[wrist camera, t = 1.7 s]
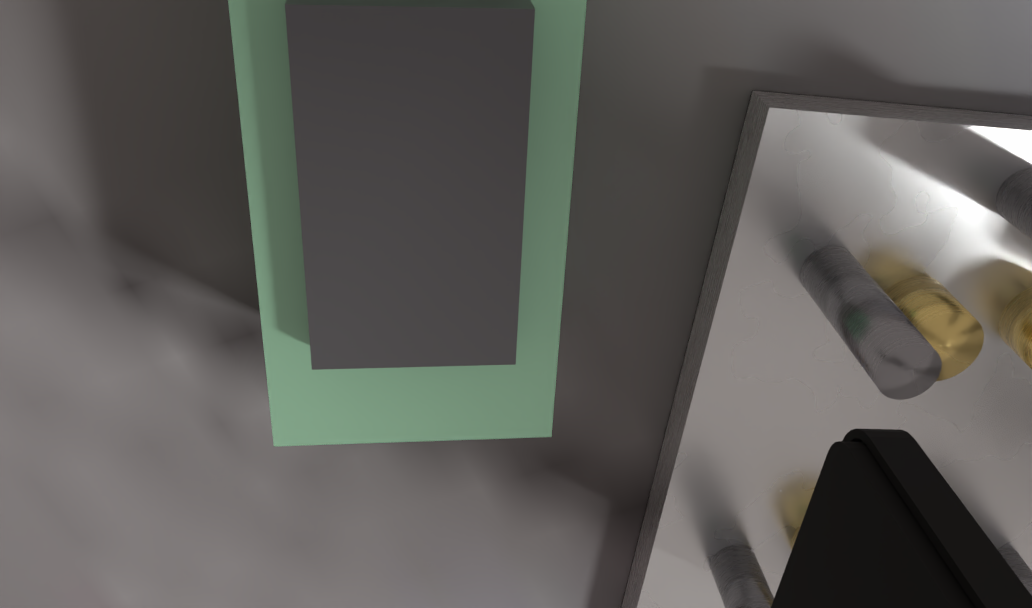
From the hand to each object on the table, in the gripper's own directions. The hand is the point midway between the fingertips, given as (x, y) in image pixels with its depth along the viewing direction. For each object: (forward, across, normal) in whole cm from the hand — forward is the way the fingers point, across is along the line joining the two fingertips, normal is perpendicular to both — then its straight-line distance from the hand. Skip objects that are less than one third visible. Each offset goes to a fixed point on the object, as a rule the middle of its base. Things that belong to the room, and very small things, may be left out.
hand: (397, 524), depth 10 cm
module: (+14, -1, 0) cm, 14 cm away
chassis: (+14, -16, +8) cm, 22 cm away
